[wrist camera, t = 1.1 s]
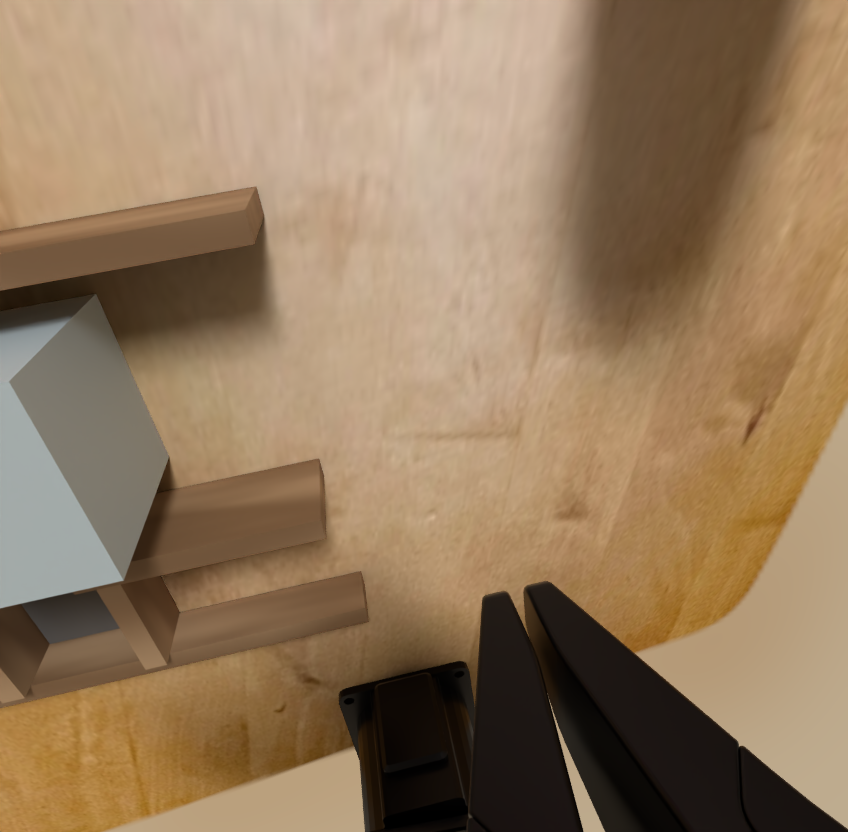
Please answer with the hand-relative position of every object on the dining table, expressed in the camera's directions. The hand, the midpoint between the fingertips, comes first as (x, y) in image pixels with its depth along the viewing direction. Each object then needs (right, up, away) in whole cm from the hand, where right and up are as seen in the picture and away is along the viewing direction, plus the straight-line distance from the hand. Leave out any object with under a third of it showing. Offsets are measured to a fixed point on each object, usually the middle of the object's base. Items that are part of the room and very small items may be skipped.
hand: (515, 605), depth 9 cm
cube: (-14, +4, +9) cm, 17 cm away
